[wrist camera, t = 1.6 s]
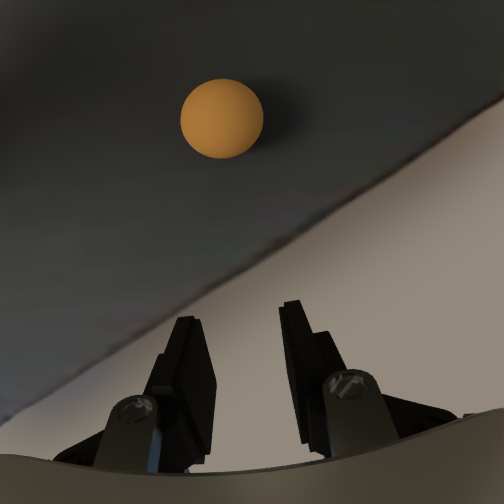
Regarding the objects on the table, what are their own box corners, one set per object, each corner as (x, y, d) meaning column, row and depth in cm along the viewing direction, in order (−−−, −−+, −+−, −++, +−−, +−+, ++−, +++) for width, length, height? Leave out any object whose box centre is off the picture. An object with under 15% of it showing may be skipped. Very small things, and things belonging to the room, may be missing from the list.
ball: (193, 165, 24) (180, 165, 18) (183, 96, 22) (167, 79, 17) (266, 153, 24) (273, 149, 18) (254, 84, 22) (258, 62, 17)
